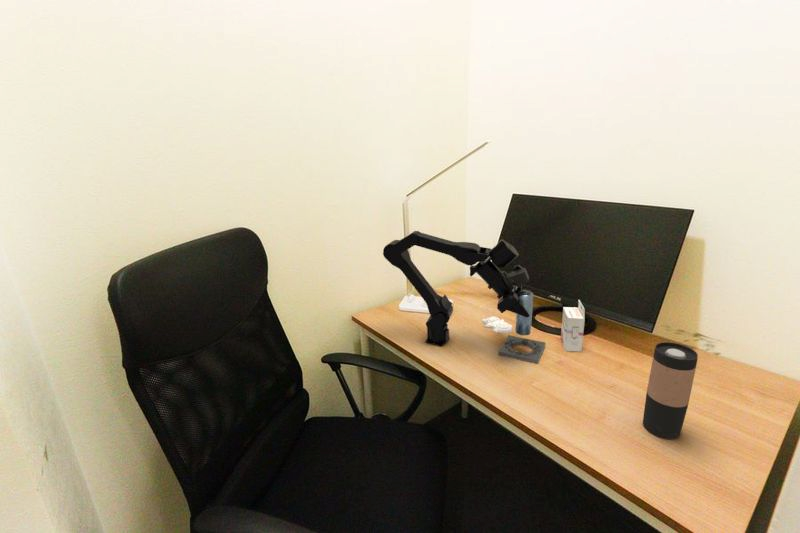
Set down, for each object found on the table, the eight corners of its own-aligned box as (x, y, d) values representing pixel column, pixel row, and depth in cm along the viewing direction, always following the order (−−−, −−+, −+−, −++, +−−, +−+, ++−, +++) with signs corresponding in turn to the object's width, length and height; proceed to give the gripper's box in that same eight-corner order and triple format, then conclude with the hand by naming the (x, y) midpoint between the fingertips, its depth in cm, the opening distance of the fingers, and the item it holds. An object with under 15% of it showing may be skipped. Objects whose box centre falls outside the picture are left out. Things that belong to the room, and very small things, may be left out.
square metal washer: (498, 354, 119) (498, 351, 119) (508, 338, 129) (508, 335, 129) (537, 363, 113) (537, 360, 113) (545, 345, 123) (545, 342, 123)
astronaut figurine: (497, 318, 145) (497, 311, 144) (517, 331, 134) (517, 323, 133) (477, 322, 142) (477, 315, 141) (496, 336, 131) (496, 328, 130)
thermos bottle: (518, 335, 116) (520, 294, 112) (513, 329, 121) (515, 289, 116) (532, 334, 116) (535, 293, 112) (527, 328, 121) (530, 288, 117)
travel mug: (633, 418, 89) (646, 343, 83) (664, 415, 90) (679, 340, 84) (657, 442, 82) (673, 361, 76) (690, 438, 83) (708, 358, 77)
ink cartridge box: (559, 338, 127) (563, 297, 123) (575, 339, 126) (579, 298, 122) (565, 351, 119) (569, 308, 115) (581, 352, 118) (586, 309, 114)
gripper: (511, 269, 104) (550, 310, 104) (515, 251, 121) (549, 286, 121) (481, 293, 109) (519, 332, 109) (489, 273, 126) (522, 307, 126)
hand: (528, 313), depth 116 cm, fingers closed on thermos bottle, 5 cm apart
